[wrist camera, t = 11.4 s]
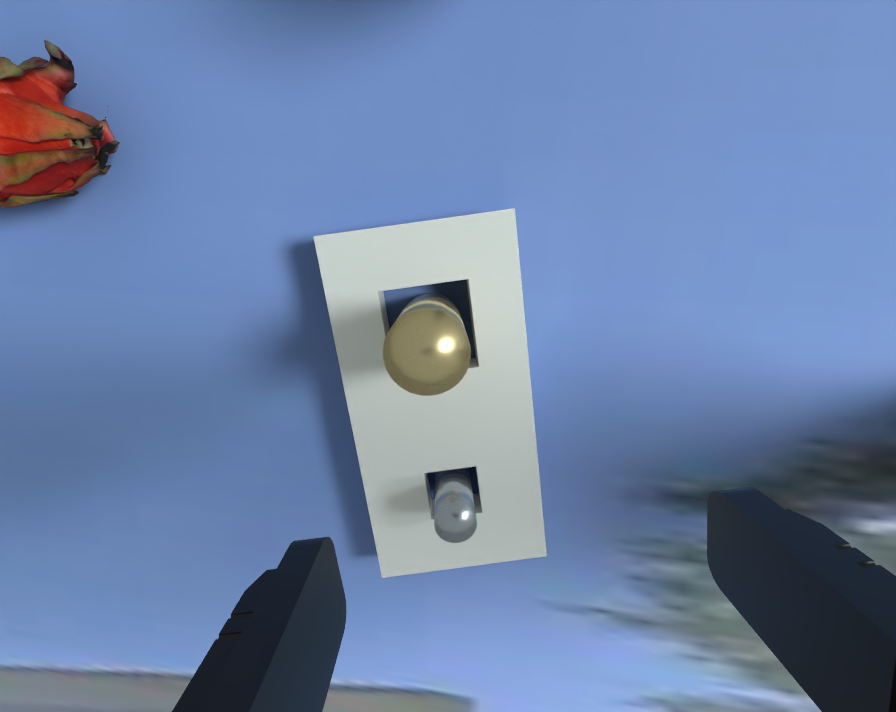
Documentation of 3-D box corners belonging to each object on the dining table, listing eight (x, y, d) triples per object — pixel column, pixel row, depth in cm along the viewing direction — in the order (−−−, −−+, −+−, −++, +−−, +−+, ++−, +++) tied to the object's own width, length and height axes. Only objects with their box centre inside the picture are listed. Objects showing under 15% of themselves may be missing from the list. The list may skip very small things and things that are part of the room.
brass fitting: (457, 289, 28) (465, 304, 20) (465, 349, 29) (475, 389, 20) (395, 297, 28) (375, 316, 20) (405, 357, 29) (390, 401, 21)
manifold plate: (507, 212, 27) (514, 208, 25) (538, 533, 33) (546, 556, 30) (324, 238, 27) (313, 236, 25) (386, 554, 33) (382, 577, 30)
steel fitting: (467, 456, 31) (474, 502, 25) (471, 487, 32) (479, 540, 26) (432, 461, 31) (431, 508, 25) (437, 492, 32) (437, 545, 26)
